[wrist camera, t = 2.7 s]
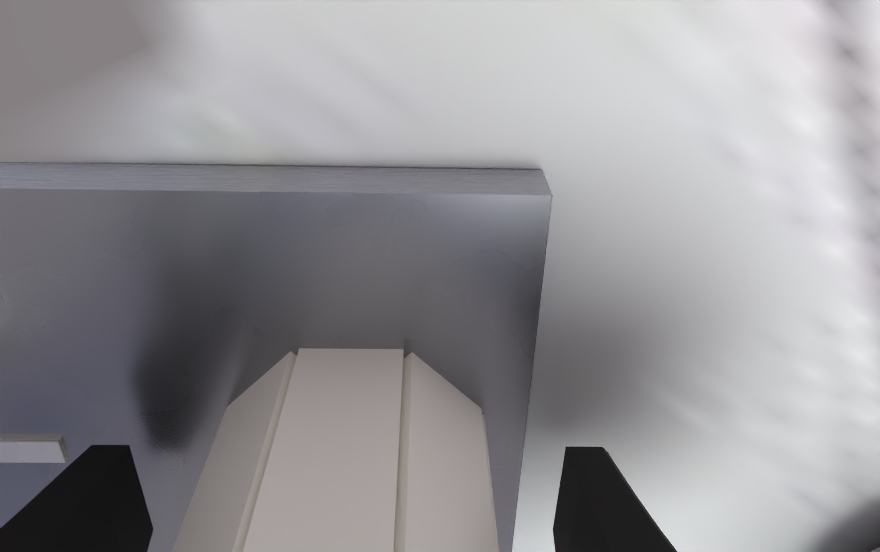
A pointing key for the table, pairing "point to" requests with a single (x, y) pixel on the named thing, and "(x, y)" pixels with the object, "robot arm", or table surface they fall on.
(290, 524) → the knob
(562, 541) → the robot arm
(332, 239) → the flat rectangular plate
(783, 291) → the table surface
